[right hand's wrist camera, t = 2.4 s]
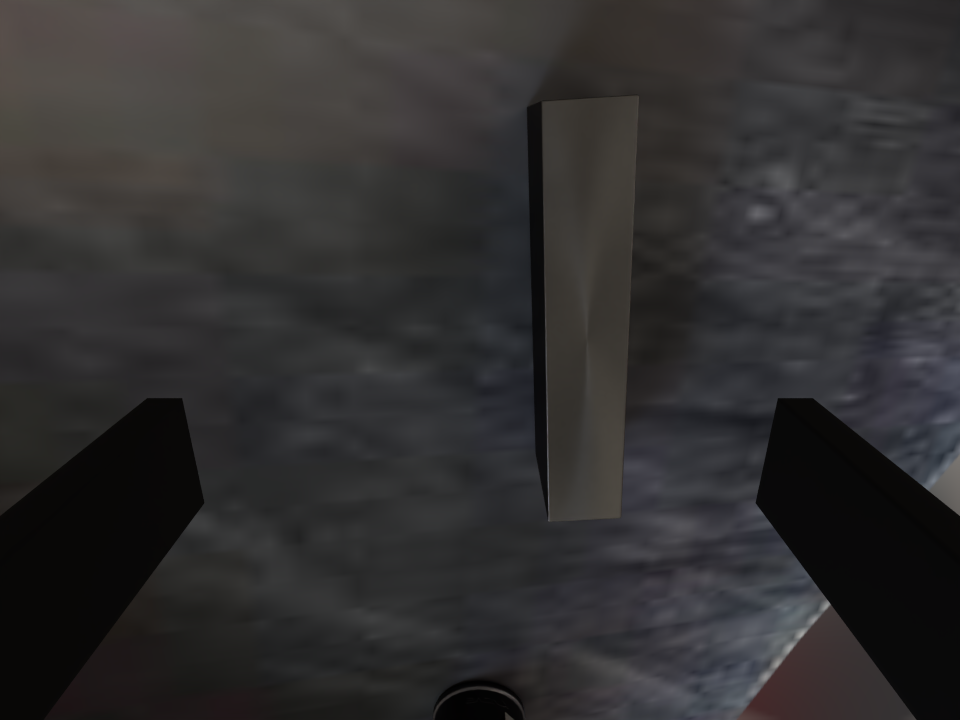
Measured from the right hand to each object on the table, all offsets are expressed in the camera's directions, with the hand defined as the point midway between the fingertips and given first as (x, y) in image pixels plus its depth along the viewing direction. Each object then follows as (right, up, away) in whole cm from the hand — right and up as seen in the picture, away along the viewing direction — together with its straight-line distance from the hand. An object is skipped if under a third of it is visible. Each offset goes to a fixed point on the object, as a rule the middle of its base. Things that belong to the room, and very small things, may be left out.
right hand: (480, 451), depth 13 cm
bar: (+6, +7, +30) cm, 31 cm away
